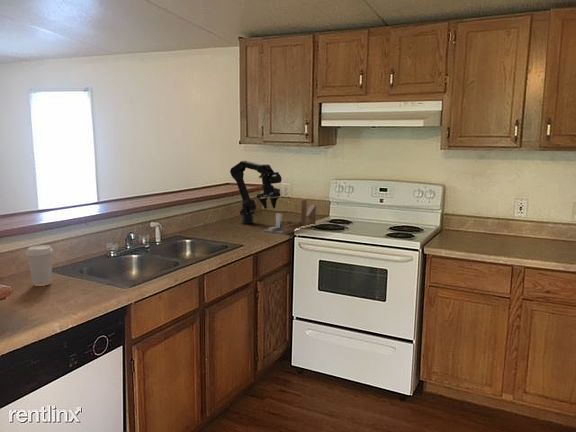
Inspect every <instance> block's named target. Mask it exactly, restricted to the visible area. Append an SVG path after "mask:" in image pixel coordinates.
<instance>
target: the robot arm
mask: <svg viewBox="0 0 576 432" xmlns="http://www.w3.org/2000/svg"><path fill="white" fill-rule="evenodd" d="M246 169H250V170H252V171H257V173H259V174H260V175H259V176H258V179H261V183H262V186H261V189H262V191H263V192H262V193H257V194H256V199H258V200H259V202H260V204H262V206H263V208H264V209H265V210H267V207H268V205H267V204H268V203H267V200H268V198H269V201H270V204H271V207H272V209H276V205H277V201H278V199H279V198H280V197H281V192H280V191H281V189H280V188H276V187H274V185H275V184H280V183H281V182H282V179H283V178H282V175H280V172H279V171H276V172H275V171H274V169H272V167H271V165H270V164H259V163H255V162H251V161H247V160H241V161H240V162H238V163H237V164H236V165H234V166H232V167H231V168H230V171H229V173H230V176H231V178H233V179H234V181H235V182H236V185H237V187H238V190H239V193H240V196H241V200H242V203H241V204H242V205H241V206H242V209H241V210H240V211H239V213H240V215H241V216H242V217H241V219H242V222H240V224H243V225H252V224H255V222H254V217H253V215H254V214H255V211H256V209H257V205H256V202H255V199H251V197H250V195H249V191H248V189H247V186H246V183H245V180H244V175H245V174H244V172H245V171H246ZM273 184H274V185H273Z"/></svg>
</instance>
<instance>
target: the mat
mask: <svg viewBox="0 0 576 432" xmlns="http://www.w3.org/2000/svg"><path fill="white" fill-rule="evenodd" d="M263 232H265V233H271V234H273V233H274V234H279V235H287V234H291V233H295V232H294V231H290V232H287V233H283V226H282V230H279V231H273V232H272V231H268V228H267V229H263Z"/></svg>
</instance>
